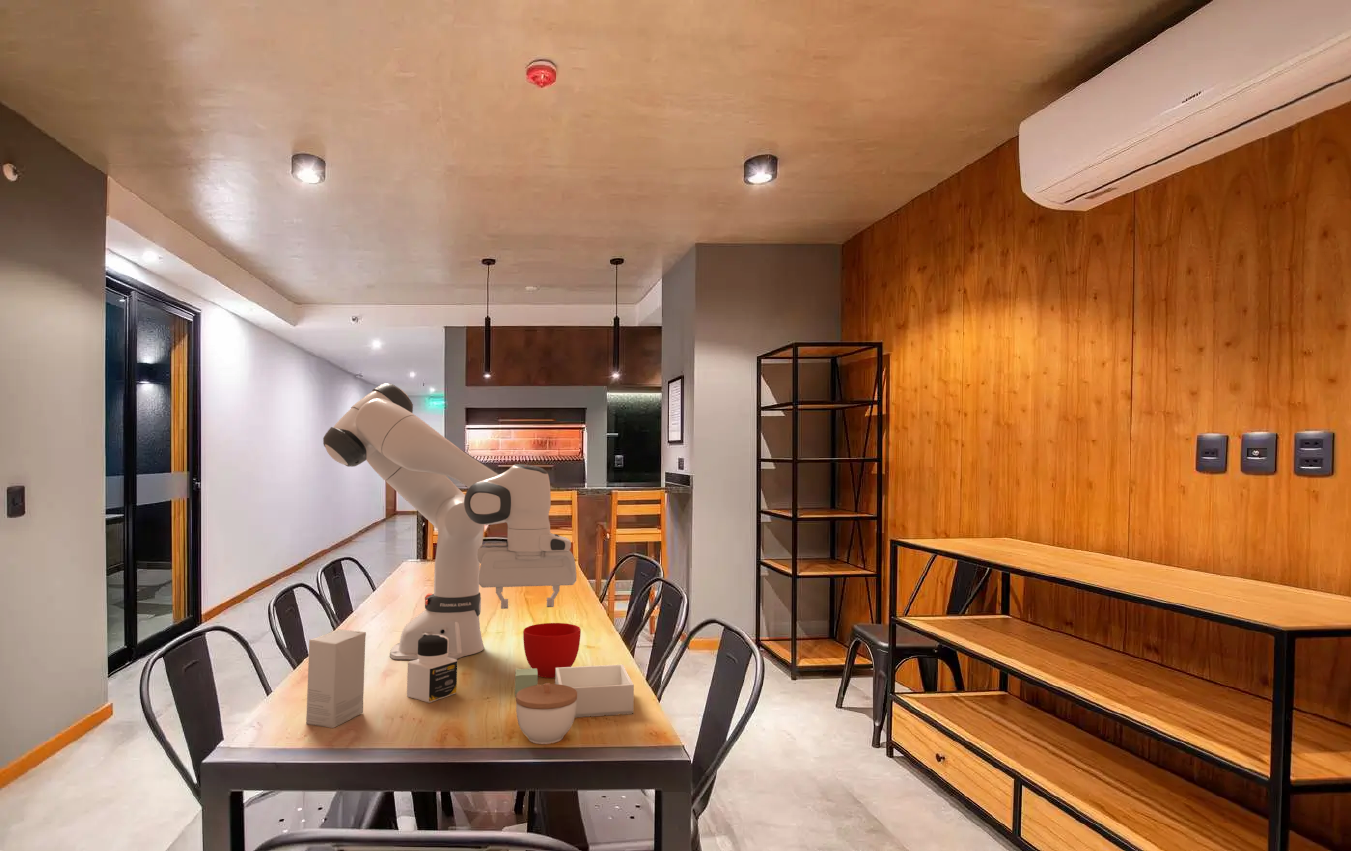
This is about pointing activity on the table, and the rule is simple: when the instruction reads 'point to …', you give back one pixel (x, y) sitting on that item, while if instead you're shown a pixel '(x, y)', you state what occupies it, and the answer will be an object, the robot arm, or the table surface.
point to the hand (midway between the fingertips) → (527, 607)
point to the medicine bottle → (432, 670)
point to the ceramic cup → (551, 646)
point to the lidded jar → (546, 712)
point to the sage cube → (525, 678)
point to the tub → (599, 689)
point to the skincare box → (335, 678)
